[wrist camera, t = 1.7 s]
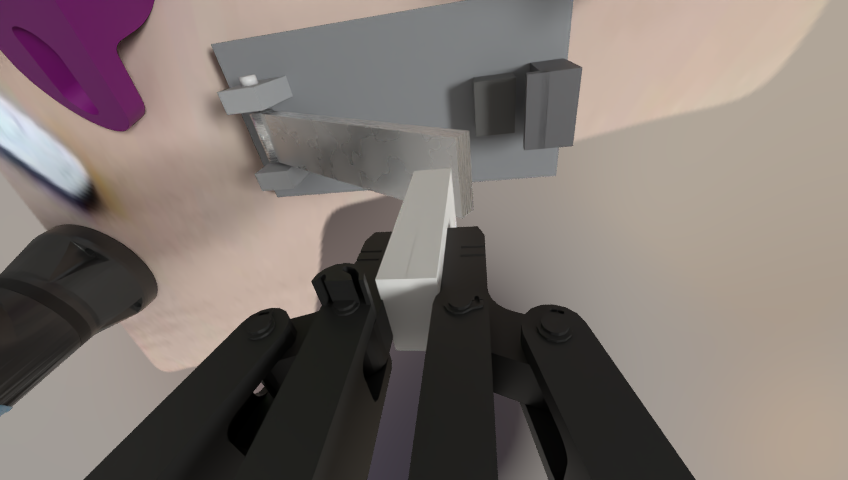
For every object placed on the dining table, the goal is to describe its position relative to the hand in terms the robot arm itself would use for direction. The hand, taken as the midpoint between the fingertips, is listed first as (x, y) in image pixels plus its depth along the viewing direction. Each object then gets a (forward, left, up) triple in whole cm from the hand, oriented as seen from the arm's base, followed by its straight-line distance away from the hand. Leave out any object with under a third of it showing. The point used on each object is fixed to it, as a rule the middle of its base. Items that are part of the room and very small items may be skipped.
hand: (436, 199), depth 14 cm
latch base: (-5, 0, -19) cm, 19 cm away
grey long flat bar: (-7, 0, -9) cm, 11 cm away
